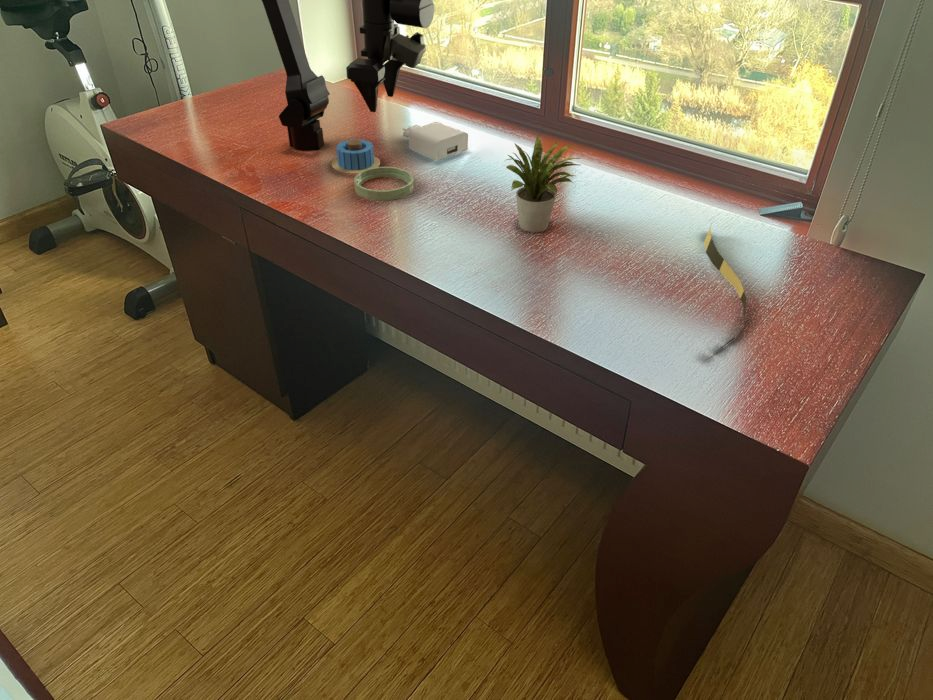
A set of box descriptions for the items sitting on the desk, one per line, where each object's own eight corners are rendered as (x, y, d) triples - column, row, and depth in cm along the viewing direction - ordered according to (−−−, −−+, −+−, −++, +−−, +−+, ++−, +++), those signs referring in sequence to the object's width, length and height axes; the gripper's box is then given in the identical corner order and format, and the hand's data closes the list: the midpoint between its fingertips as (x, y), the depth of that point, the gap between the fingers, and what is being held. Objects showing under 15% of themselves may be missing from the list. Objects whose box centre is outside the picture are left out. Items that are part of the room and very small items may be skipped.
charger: (421, 133, 169) (467, 152, 161) (390, 144, 164) (436, 164, 156) (421, 112, 167) (468, 131, 158) (389, 123, 161) (436, 142, 153)
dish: (345, 199, 142) (344, 186, 141) (369, 175, 151) (368, 163, 149) (401, 207, 140) (400, 195, 138) (421, 183, 148) (421, 170, 147)
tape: (737, 240, 132) (743, 221, 129) (747, 369, 102) (755, 347, 100) (702, 235, 133) (708, 215, 130) (702, 361, 103) (709, 339, 101)
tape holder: (323, 172, 152) (321, 148, 149) (344, 154, 159) (342, 130, 156) (369, 179, 150) (367, 154, 146) (387, 160, 157) (386, 136, 154)
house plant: (537, 256, 126) (544, 165, 116) (476, 229, 133) (478, 141, 123) (586, 227, 134) (597, 140, 124) (526, 203, 142) (532, 119, 132)
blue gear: (332, 167, 152) (330, 150, 150) (347, 153, 158) (345, 137, 156) (365, 172, 150) (364, 155, 148) (379, 158, 156) (378, 141, 154)
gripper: (401, 38, 129) (403, 126, 138) (436, 12, 143) (435, 94, 152) (342, 31, 131) (348, 118, 141) (381, 7, 145) (385, 87, 155)
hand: (382, 103), depth 147 cm, fingers open, 9 cm apart
